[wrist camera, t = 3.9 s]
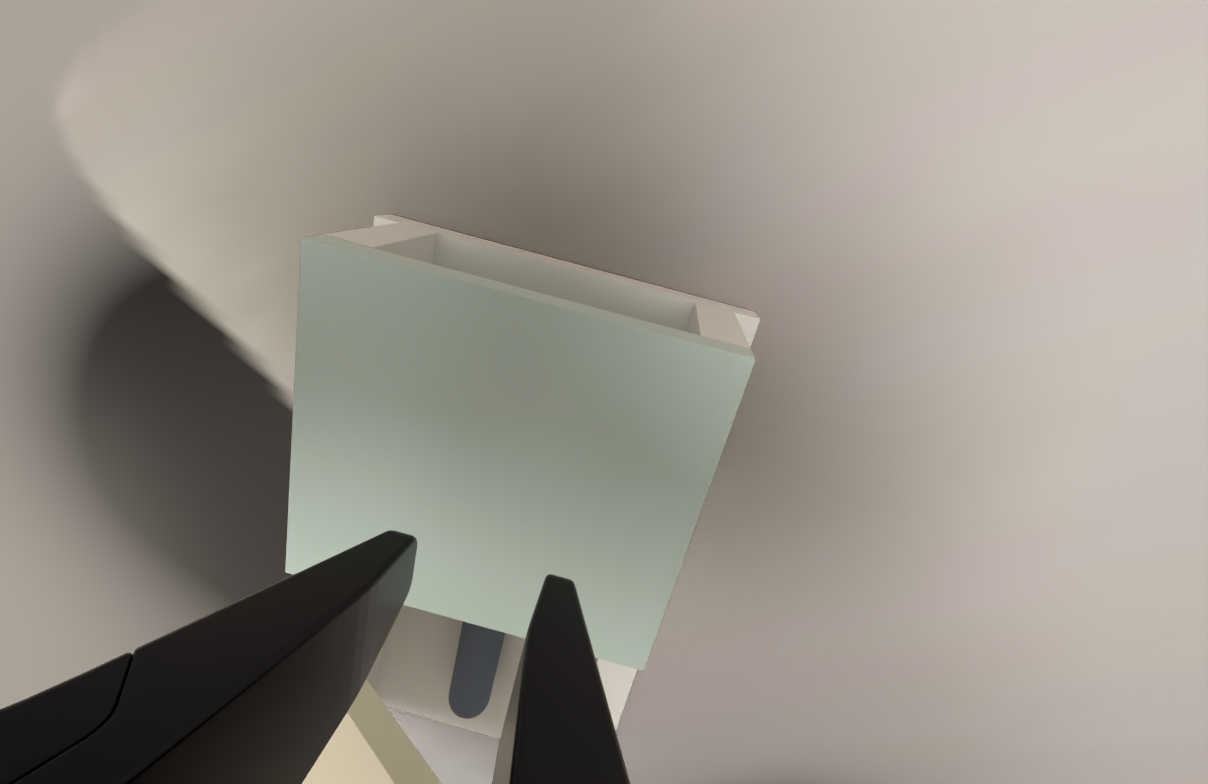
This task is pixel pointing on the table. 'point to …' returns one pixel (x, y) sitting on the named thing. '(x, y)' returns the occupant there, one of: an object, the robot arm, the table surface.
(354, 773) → the lid inner
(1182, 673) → the table surface
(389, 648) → the white tray
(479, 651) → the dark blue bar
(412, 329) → the lid outer
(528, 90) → the table surface
